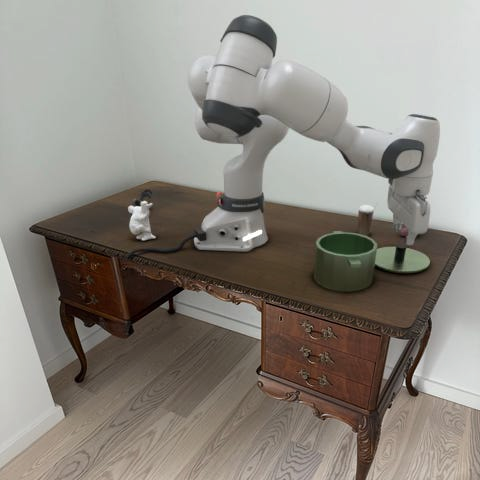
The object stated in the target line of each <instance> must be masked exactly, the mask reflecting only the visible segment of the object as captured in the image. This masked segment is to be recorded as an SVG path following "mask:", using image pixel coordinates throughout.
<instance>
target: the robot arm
mask: <svg viewBox="0 0 480 480" xmlns="http://www.w3.org/2000/svg"><path fill="white" fill-rule="evenodd" d="M277 47H278V35H277V33H276V32H275V30H274V28H273V27H272V26H271V25H270V24H269V23H268V22H266V21H265V20H263V19H261V18H259V17H256V16H254V15H249V14H242V15H239V16H237V17H235V18H233V19H232V20H231V21H230V22H229V24H228V26H227V28H226V29H225V31H224V33H223V35H222V37H221V39H220V45H219V47H218V50H217V53H216V54H204V55H201V56H200V57H198V58H196V59H195V61H194V62H193V63H192V64H191V66H190V67H189V70H188V74H187V84H188V88H189V91H190V94H191V96H192V98H193V99H194V101H195V104H196V105H197V106H198V108H197V110H196V112H195V114H194V115H195V116H194V126H195V130H196V132H197V134H198V136H199V137H200V139H202V140H204V141H207V142H212V143H216V144H221V145H222V144H223V145H224V144H227V145H242V153H240V154H239V155H236V156H234V157H233V158H231V159H230V160H228V161H227V162H226V163H225V165H224V167H223V172H222V173H223V191H224V192H222V191H218V192H217V193H216V199H217V207H216V208H214V209H213V210H212V211H211V212H209V213H208V214H207V215H205V217H204V218H203V220H202V222H201V226H200V227H198V228H194V229H193V230H194V234H192V235H189V236H186V237H185V238H184V239H182V241H181V243H179V245H178V246H175V247H172V248H158V247H139V248H135V249H133V250H131V251H129V252H128V253H127V255H125V257H124V260H128V259H130V257H131V256H133V255H134V254H137V253H140V252H158V253H174V252H177V251H179V250H181V249H182V248H183V247H184V246H185V244H186V243H187V242H188V241H191V240H193V244H194V247H195V248H196V249H197V250H201V251H218V252H219V251H221V252H245V253H246V252H250V251H251V250H253V249H255V248H257V247H260V246H262V245H264V244H266V242H268V240H269V237H268V234H267V230H266V224H265V219H264V212H265V194H264V192H263V182H264V181H263V180H264V168H265V164H266V161H267V159H268V156H269V155H270V154H271V152H272V150H273V149H275V147H276V146H277V145H279V144H281V142H282V141H284V139H285V138H286V137H287V135H288V132H289V130H290V129H291V130H292V131H293V132H295V133H297V134H299V135H301V136H303V137H305V138H308V139H310V140H313V141H316V142H321V143H327V144H329V145H330V146H332V147H334V148H335V149H336V150H338V152H339V153H340V154H341V156H342V158H343V160H344V161H345V163H346V164H347V165H348V167H350V168H352V169H355V170H360V171H364V172H366V173H369V174H373V175H375V176H377V177H378V176H379V177H381V178H383V179H388V180H387V182H388V188H387V189H388V190H387V200H386V201H387V209H388V210H390V212H391V213H392V222H393V224H392V230H393V231H395V232H400V231H401V230H402V228H403V226H404V227H405V228H407V229H408V233H409V234H408V236H405V237H404V238H405V239H404V243H405V244H406V246H413V245H414V243H415V240H416V238H417V237H418V235H423V234H426V233H427V231H428V230H429V224H430V218H431V217H430V216H431V203H430V202H429V200H427V199H428V197H427V195H429V194H430V190H431V185H432V180H433V176H434V162H435V160H436V159H437V155H438V151H439V146H440V145H439V143H440V138H441V137H440V136H441V123H440V121H439V120H438V119H437V118H436V117H434V116H428V115H422V114H416V113H411V114H408V115H406V117H405V120H404V121H403V122H402V123H401V124H400V125H399V126H398V127H397V128H395V129H394V130H392V131H385V130H381V129H376V128H374V127H371V126H367V125H354V124H353V123H352V122H350V121H349V120H347V117H348V112H349V101H348V99H347V97H346V96H345V94H344V93H343V92H342V90H340V88H338V87H337V86H336V84H334V83H333V82H331V81H330V80H328V79H327V78H326V77H324V76H323V75H321V74H320V73H318V72H316V71H315V70H313V69H311V68H309V67H307V66H304V65H302V64H299V63H298V62H294V61H291V60H287V59H283V60H279V61H277V62H275V63H274V64H273V59H274V58H275V57H276V53H277Z"/></svg>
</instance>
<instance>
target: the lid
mask: <svg viewBox="0 0 480 480" xmlns="http://www.w3.org/2000/svg"><path fill="white" fill-rule="evenodd" d="M430 264H431V260H430V258H429V256H427V255H426V254H425V253H423V252H421V251H419V250H416V249H413V248H408V247H407V245H405V244H402V243H401V244H400V243H399V244H396V246H385V247H380V248H377V253H376V260H375V267H376V268H378V269H381V270H383V271H386V272H389V273H390V272H391V273H396V274H415V273H419V272H423V271H425V270H426V269H428V268H429V266H430Z"/></svg>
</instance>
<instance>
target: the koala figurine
mask: <svg viewBox="0 0 480 480" xmlns="http://www.w3.org/2000/svg"><path fill="white" fill-rule="evenodd" d="M147 202H148V201H143V202H141V207H140V206H136V205H135V206H133V205H129V206H128V207H127V209H128V210H127V211H128V212H129V214H132V215H131V216H130V219H129V224H128V226H129V230H130V232H131V234H132V235H135V236H136V237H135V238H136V239H137V240H141V241H142V242H144V241H147V240H148V241H149V240H154V239H155V240H156V239H157V237H156V235H154V234H153V233H152V230H151V229H152V228H151V224H150V219H149V217H150V209H151V207H152V206H153V204H154V203H153V202H149V203H147ZM149 208H150V209H149Z"/></svg>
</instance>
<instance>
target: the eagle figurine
mask: <svg viewBox="0 0 480 480" xmlns="http://www.w3.org/2000/svg"><path fill="white" fill-rule="evenodd" d="M139 195H140V196H139V199H138V198H137V197H136V198H134V199H133V200H132V201H131V206H133V207H136V206H140V207H141V202H143V201H146V202H147V203H148V204H150V203H151V200H150V199H152V198H153V192H152V190H151V189H148V188H147V189H145V190H144V191H142V192H141V193H140V194H139ZM148 209H149V210H151V207H150V208H148Z"/></svg>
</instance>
